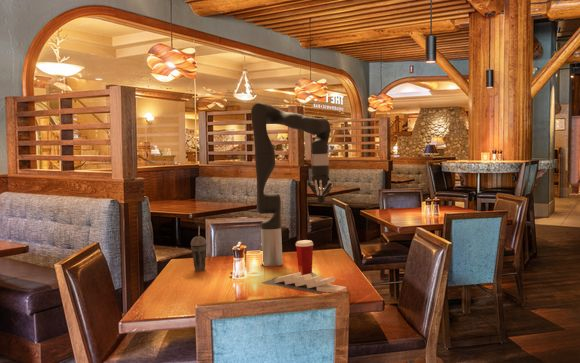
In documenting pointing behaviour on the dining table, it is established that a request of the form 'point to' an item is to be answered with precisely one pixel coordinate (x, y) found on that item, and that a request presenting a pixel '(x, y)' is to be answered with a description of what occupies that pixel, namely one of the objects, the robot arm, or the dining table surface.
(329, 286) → the tile
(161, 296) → the dining table surface
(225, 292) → the dining table surface
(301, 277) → the tile
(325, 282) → the tile
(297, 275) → the tile
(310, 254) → the paper cup
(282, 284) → the slate mat
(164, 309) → the dining table surface
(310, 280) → the tile
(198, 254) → the beverage cup
